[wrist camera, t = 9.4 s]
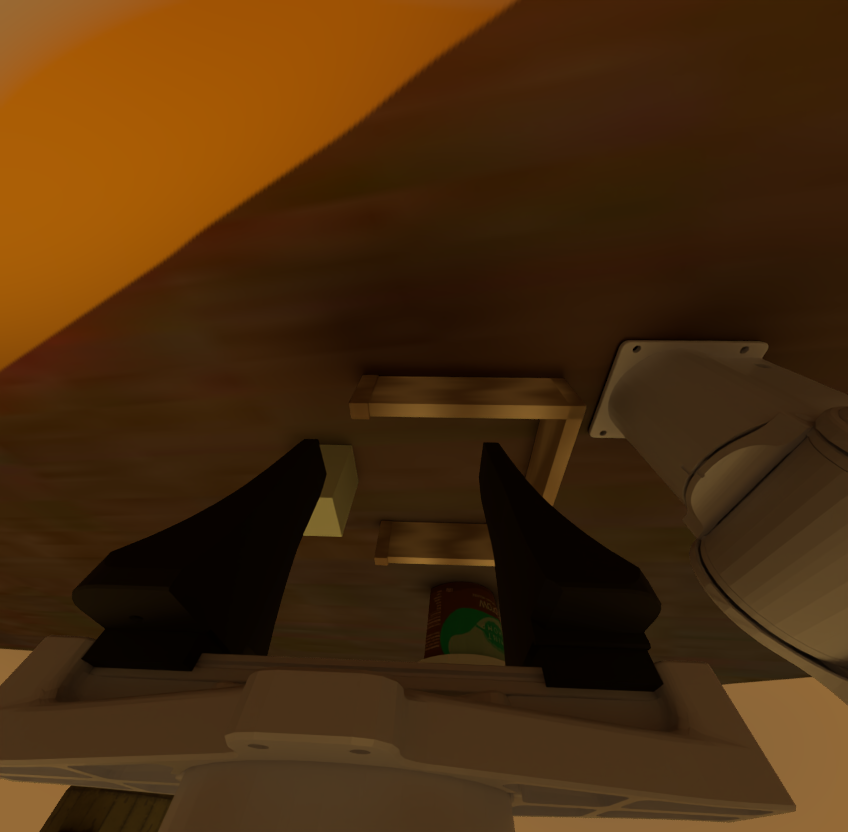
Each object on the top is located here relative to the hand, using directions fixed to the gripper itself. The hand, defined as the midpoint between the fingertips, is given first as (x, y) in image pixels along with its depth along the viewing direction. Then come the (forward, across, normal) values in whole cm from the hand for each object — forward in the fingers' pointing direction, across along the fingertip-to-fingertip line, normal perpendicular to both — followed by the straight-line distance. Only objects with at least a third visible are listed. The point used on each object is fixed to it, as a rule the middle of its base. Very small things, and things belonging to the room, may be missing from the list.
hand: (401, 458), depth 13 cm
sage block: (+10, +8, +10) cm, 17 cm away
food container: (+11, -7, +32) cm, 34 cm away
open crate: (+10, -3, +10) cm, 15 cm away
